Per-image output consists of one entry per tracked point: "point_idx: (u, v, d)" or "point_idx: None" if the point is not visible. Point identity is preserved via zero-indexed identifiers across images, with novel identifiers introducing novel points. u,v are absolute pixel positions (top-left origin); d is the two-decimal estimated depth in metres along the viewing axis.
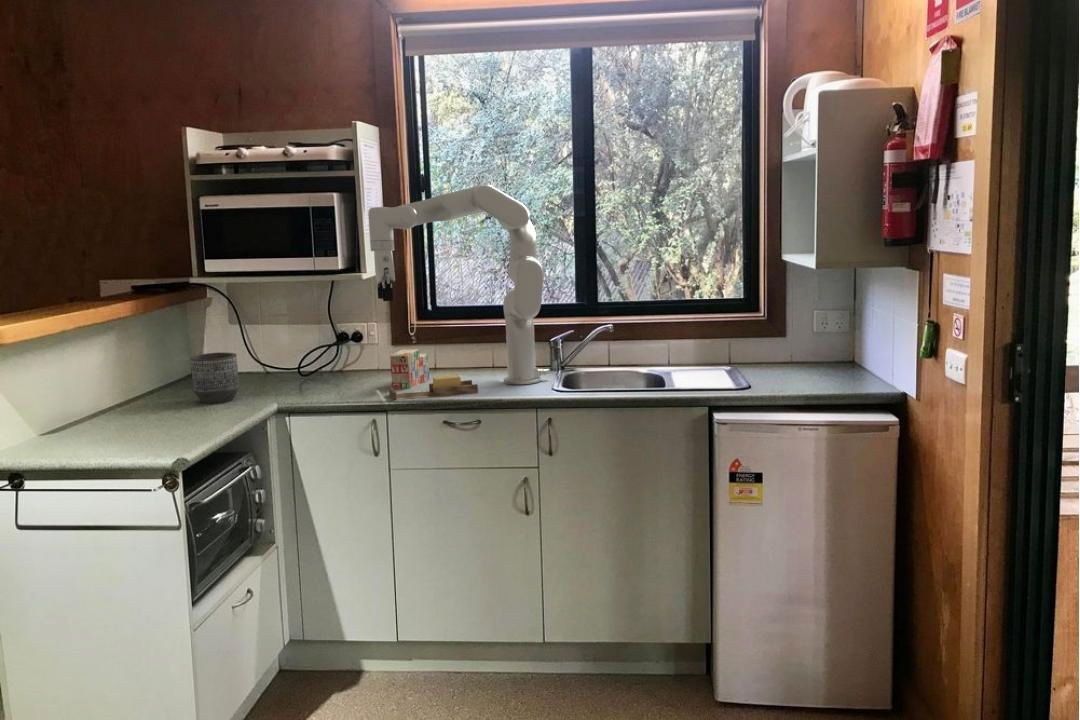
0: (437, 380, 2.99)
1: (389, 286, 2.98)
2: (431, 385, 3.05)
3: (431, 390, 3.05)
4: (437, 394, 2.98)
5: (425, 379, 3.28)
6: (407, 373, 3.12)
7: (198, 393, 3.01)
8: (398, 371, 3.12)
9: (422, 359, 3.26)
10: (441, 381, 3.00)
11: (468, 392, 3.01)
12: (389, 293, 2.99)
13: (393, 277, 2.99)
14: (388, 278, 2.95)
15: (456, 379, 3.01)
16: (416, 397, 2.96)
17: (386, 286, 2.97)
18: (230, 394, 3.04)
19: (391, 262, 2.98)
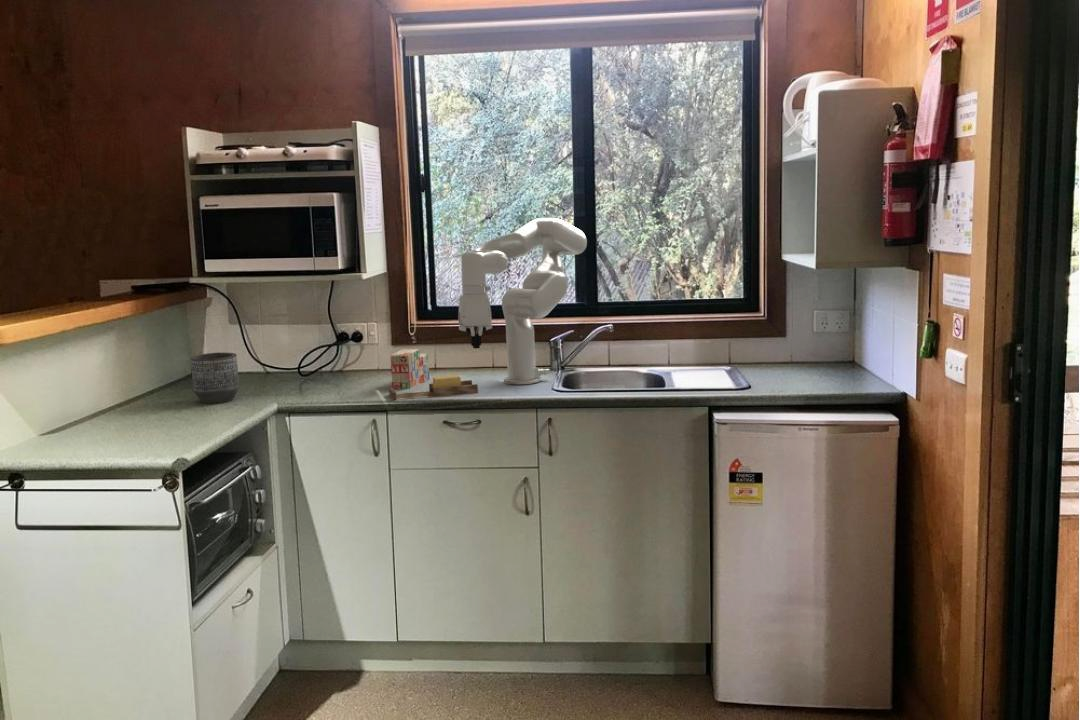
0: (437, 380, 2.99)
1: None
2: (431, 385, 3.05)
3: (431, 390, 3.05)
4: (437, 394, 2.98)
5: (425, 379, 3.29)
6: (407, 373, 3.12)
7: (198, 393, 3.01)
8: (398, 371, 3.12)
9: (422, 359, 3.26)
10: (441, 381, 3.00)
11: (468, 392, 3.01)
12: None
13: None
14: None
15: (456, 379, 3.01)
16: (416, 397, 2.96)
17: (482, 333, 3.03)
18: (230, 394, 3.04)
19: None
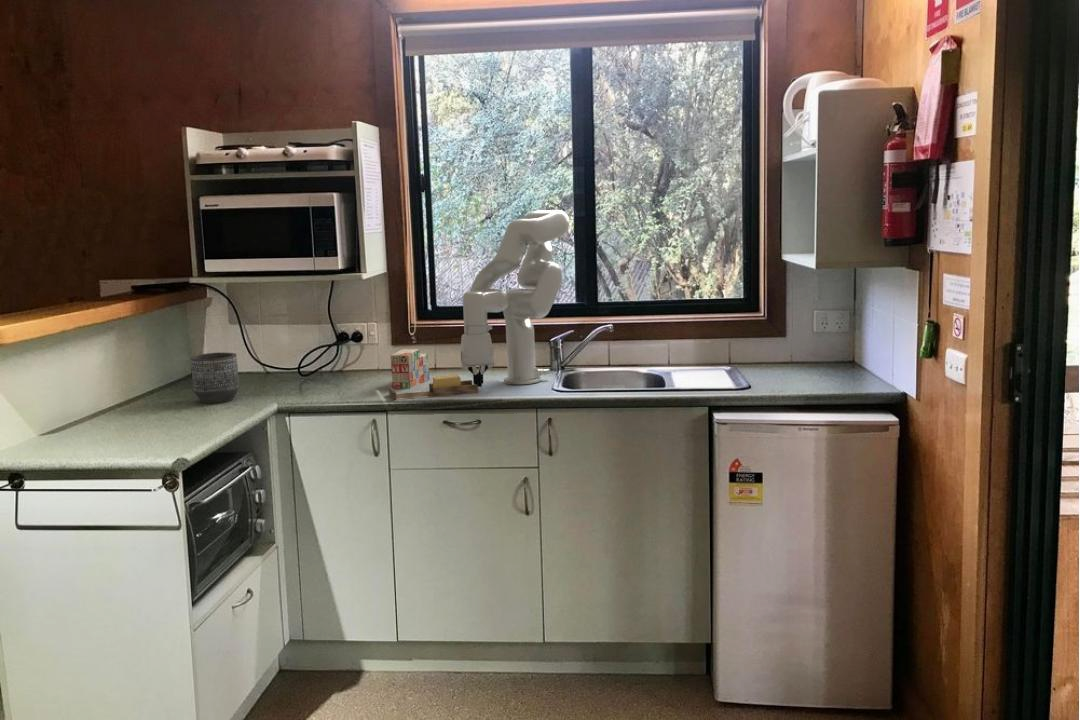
0: (437, 380, 2.99)
1: None
2: (431, 385, 3.05)
3: (431, 390, 3.05)
4: (437, 394, 2.98)
5: (425, 379, 3.29)
6: (407, 373, 3.12)
7: (198, 393, 3.01)
8: (399, 371, 3.13)
9: (422, 359, 3.26)
10: (441, 381, 3.00)
11: (468, 392, 3.01)
12: None
13: None
14: None
15: (456, 379, 3.01)
16: (416, 397, 2.96)
17: (484, 371, 3.06)
18: (230, 394, 3.04)
19: None
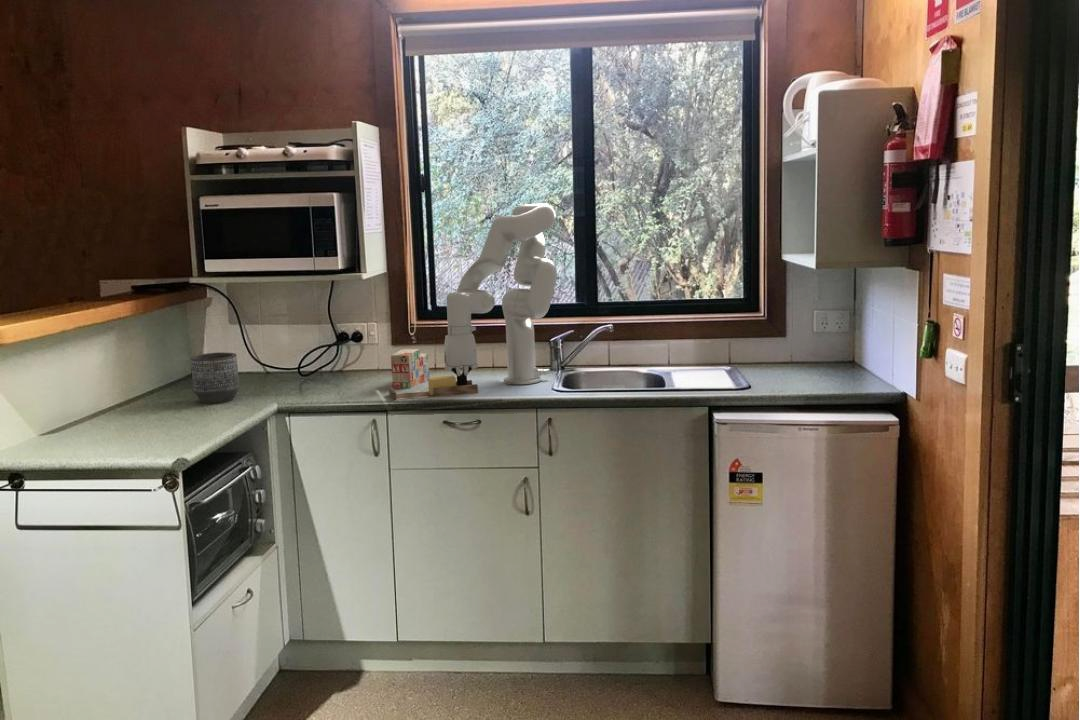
0: (432, 380, 2.99)
1: None
2: None
3: None
4: (437, 394, 2.98)
5: (425, 379, 3.29)
6: (408, 373, 3.12)
7: (198, 393, 3.01)
8: (399, 371, 3.13)
9: (422, 359, 3.26)
10: (436, 381, 2.99)
11: (468, 392, 3.01)
12: None
13: None
14: None
15: (451, 380, 3.01)
16: (416, 397, 2.96)
17: (468, 372, 3.04)
18: (230, 394, 3.04)
19: None
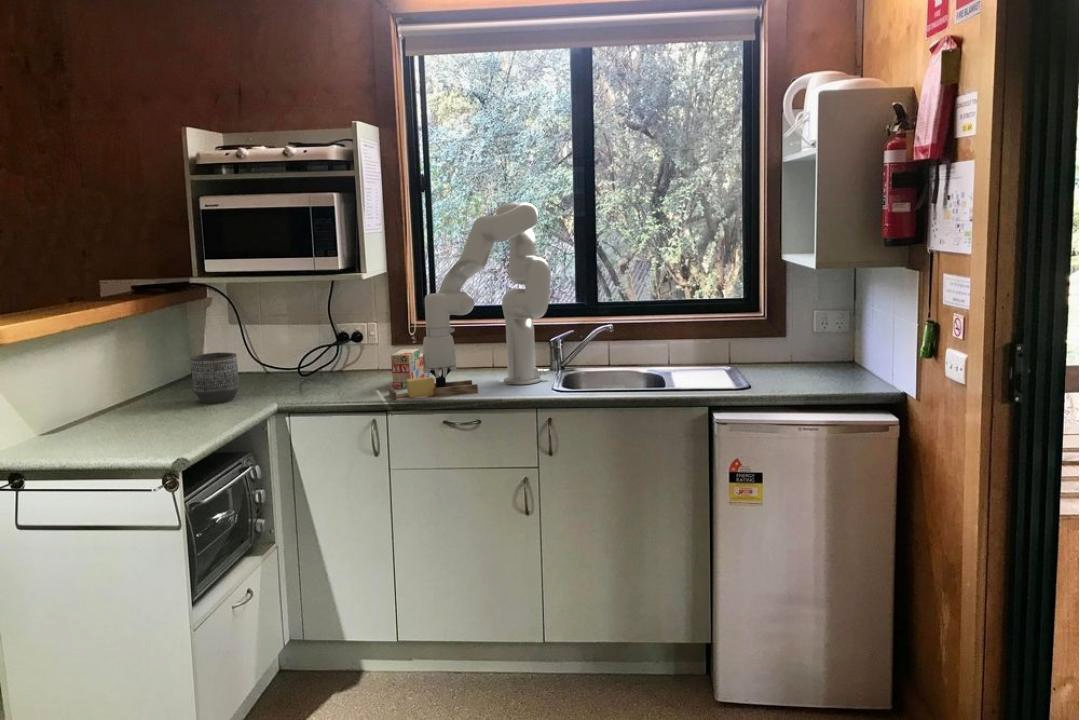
0: (411, 382, 2.97)
1: None
2: None
3: None
4: (437, 394, 2.98)
5: None
6: (408, 373, 3.12)
7: (198, 393, 3.01)
8: (399, 371, 3.13)
9: (422, 359, 3.27)
10: (415, 383, 2.97)
11: (468, 392, 3.01)
12: None
13: None
14: None
15: (429, 381, 2.99)
16: (416, 397, 2.96)
17: (447, 374, 3.02)
18: (230, 394, 3.04)
19: None
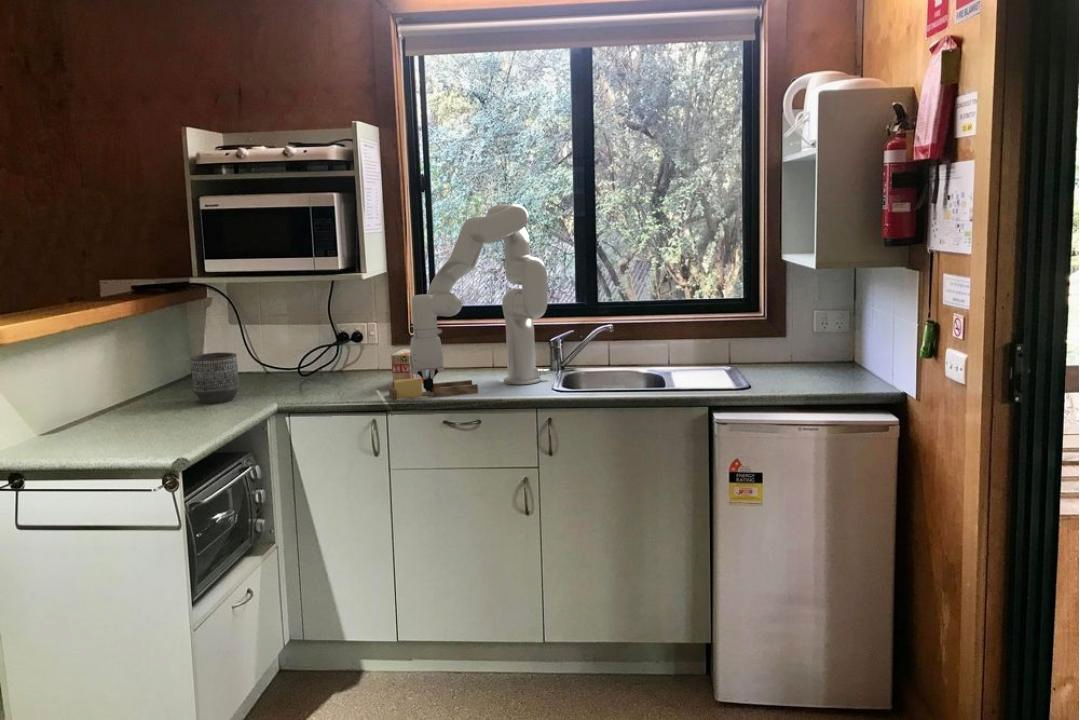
0: (397, 383, 2.96)
1: None
2: None
3: None
4: (437, 394, 2.98)
5: None
6: (408, 372, 3.13)
7: (198, 393, 3.01)
8: (399, 371, 3.13)
9: None
10: (402, 384, 2.96)
11: (468, 392, 3.01)
12: None
13: None
14: None
15: (416, 383, 2.98)
16: (416, 397, 2.96)
17: (434, 375, 3.01)
18: (230, 394, 3.04)
19: None
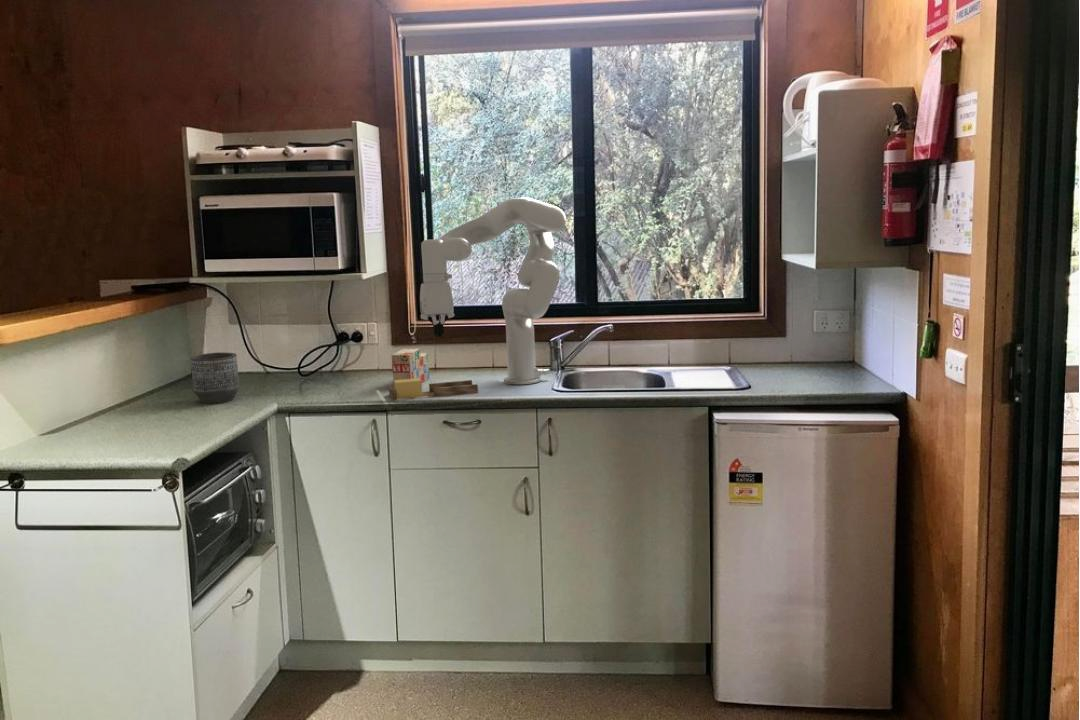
0: (397, 383, 2.96)
1: None
2: (431, 385, 3.05)
3: (431, 390, 3.05)
4: (437, 394, 2.98)
5: (425, 378, 3.30)
6: (408, 372, 3.13)
7: (198, 393, 3.01)
8: (399, 371, 3.13)
9: (422, 358, 3.27)
10: (402, 384, 2.96)
11: (468, 392, 3.01)
12: None
13: None
14: None
15: (416, 383, 2.98)
16: (416, 397, 2.96)
17: (444, 321, 3.00)
18: (230, 394, 3.04)
19: None
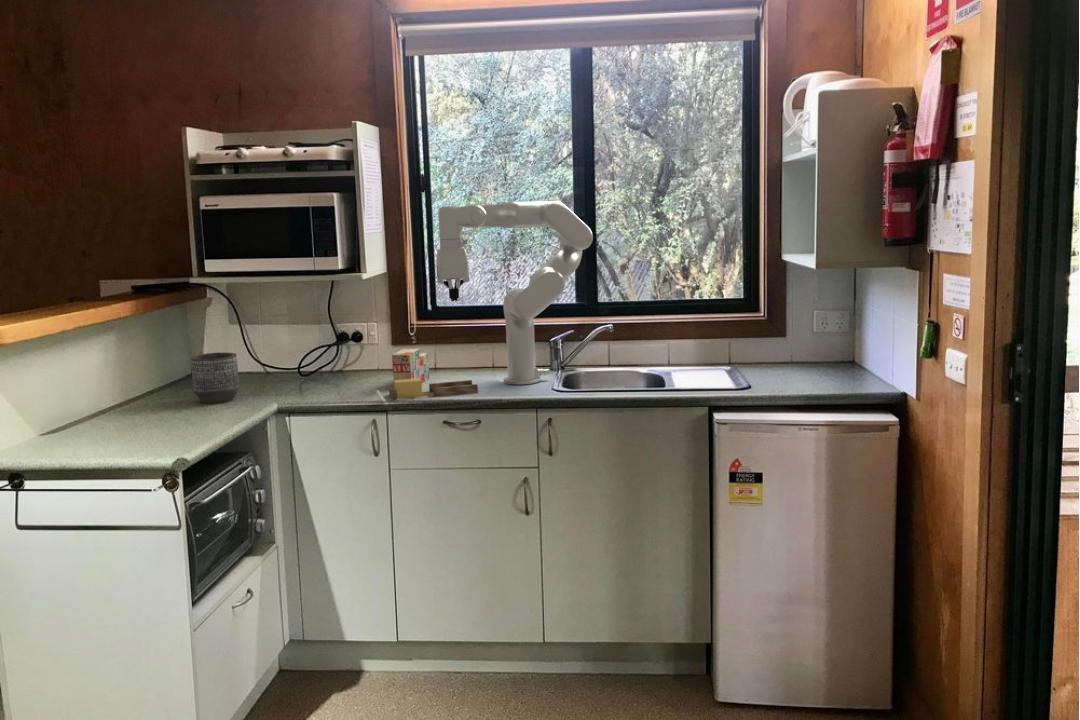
0: (397, 383, 2.96)
1: None
2: (431, 385, 3.05)
3: (431, 390, 3.05)
4: (437, 394, 2.98)
5: (425, 378, 3.30)
6: (409, 372, 3.13)
7: (198, 393, 3.01)
8: (400, 371, 3.14)
9: (423, 358, 3.27)
10: (402, 384, 2.96)
11: (468, 392, 3.01)
12: None
13: None
14: None
15: (416, 383, 2.98)
16: (416, 397, 2.96)
17: None
18: (230, 394, 3.04)
19: None
